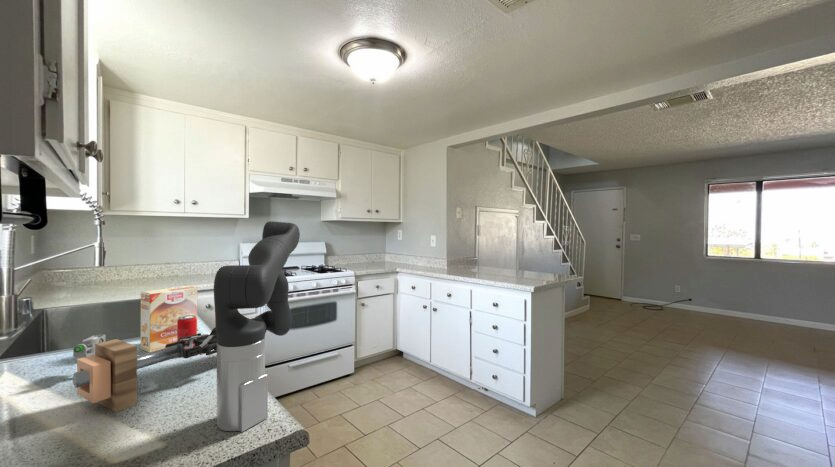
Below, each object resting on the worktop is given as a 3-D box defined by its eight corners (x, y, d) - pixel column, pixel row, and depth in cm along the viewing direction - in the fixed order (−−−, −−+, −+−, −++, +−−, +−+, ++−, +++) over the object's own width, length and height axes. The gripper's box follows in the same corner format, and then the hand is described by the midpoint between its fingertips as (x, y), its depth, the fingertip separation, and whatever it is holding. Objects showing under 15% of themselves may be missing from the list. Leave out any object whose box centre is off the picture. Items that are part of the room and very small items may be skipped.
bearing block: (136, 403, 80) (136, 345, 80) (115, 411, 77) (115, 351, 76) (116, 393, 85) (116, 339, 85) (95, 401, 81) (95, 343, 81)
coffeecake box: (149, 353, 112) (149, 293, 111) (139, 349, 115) (139, 291, 115) (198, 340, 125) (198, 286, 124) (187, 337, 128) (187, 285, 128)
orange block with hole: (110, 397, 77) (110, 361, 77) (93, 403, 74) (92, 366, 74) (94, 389, 80) (94, 354, 80) (77, 394, 78) (77, 359, 78)
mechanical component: (70, 384, 90) (70, 346, 90) (95, 368, 100) (95, 334, 99) (84, 382, 91) (84, 345, 90) (107, 367, 100) (107, 333, 100)
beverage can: (173, 355, 111) (173, 317, 110) (190, 350, 115) (190, 314, 115) (183, 358, 108) (183, 320, 108) (200, 352, 113) (200, 316, 113)
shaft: (177, 354, 94) (177, 342, 94) (184, 357, 92) (184, 344, 92) (72, 386, 75) (72, 370, 75) (79, 389, 74) (79, 374, 74)
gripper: (217, 320, 109) (160, 333, 95) (247, 326, 103) (189, 342, 88) (217, 343, 110) (160, 360, 95) (247, 351, 103) (189, 371, 89)
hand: (174, 351), depth 92 cm, fingers open, 8 cm apart
